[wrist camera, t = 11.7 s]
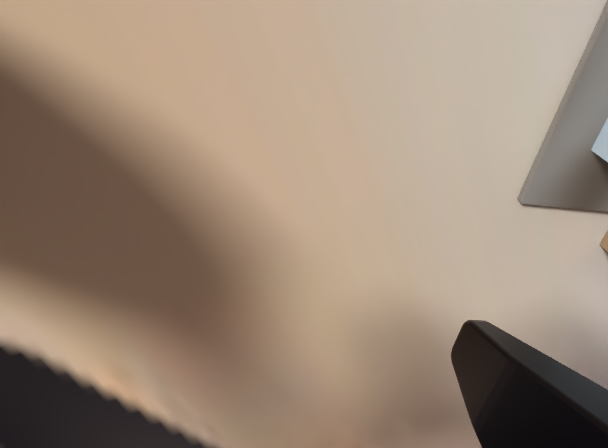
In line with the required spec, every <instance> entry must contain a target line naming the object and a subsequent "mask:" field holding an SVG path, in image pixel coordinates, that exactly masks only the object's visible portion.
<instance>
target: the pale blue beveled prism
mask: <svg viewBox="0 0 608 448" xmlns="http://www.w3.org/2000/svg"><path fill="white" fill-rule="evenodd" d="M591 150H592V151H593V152H594V153H596V154H597V155H598V156H600V157H601V158H602V159H604V160H605V161H607V162H608V118H607V120H606V122H605V124H604V126H603V128H602V130H601V132H600V133H599V135H598V137H597V139H596V141H595V143H594V145H593V147H592V149H591Z"/></svg>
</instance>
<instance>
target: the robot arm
mask: <svg viewBox="0 0 608 448" xmlns="http://www.w3.org/2000/svg"><path fill="white" fill-rule="evenodd" d="M451 359H452V364H453V367H454V370H455V373H456V377H457V380H458V383H459V386H460V389H461V392H462V395H463V398H464V402H465V405H466V408H467V411H468V414H469V417H470V420H471V422H472V425H473V428H474V430H475V432H476V435H477V437H478V439H479V442H480V444H481V446H482V448H608V390H607V389H605V388H603V387H602V386H600V385H598V384H596V383H595V382H593V381H591V380H589V379H588V378H586V377H584V376H582V375H580V374H579V373H577V372H575V371H573V370H572V369H570V368H568V367H566V366H565V365H563V364H561V363H559V362H558V361H556V360H554V359H552V358H551V357H549V356H547V355H545V354H543V353H542V352H540V351H538V350H536V349H535V348H533V347H531V346H529V345H528V344H526V343H524V342H522V341H521V340H519V339H517V338H515V337H514V336H512V335H510V334H508V333H506V332H505V331H503V330H501V329H499V328H498V327H496V326H494V325H492V324H491V323H489V322H486V321H481V320H468V321H466V322H465V323H464V324H463V326H462V328H461V330H460V332H459V335H458V337H457V339H456V341H455V343H454V345H453V348H452V352H451Z"/></svg>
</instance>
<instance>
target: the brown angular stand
mask: <svg viewBox="0 0 608 448" xmlns="http://www.w3.org/2000/svg"><path fill="white" fill-rule="evenodd" d="M607 118H608V1H607V3H606V5H605V8H604V10H603V12H602V14H601V16H600V19H599V21H598V23H597V25H596V27H595V30H594V32H593V34H592V36H591V38H590V41H589V43H588V45H587V47H586V49H585V52H584V54H583V56H582V58H581V60H580V63H579V65H578V67H577V69H576V71H575V74H574V76H573V78H572V80H571V82H570V85H569V87H568V89H567V91H566V93H565V96H564V98H563V100H562V102H561V104H560V107H559V109H558V111H557V113H556V115H555V118H554V120H553V122H552V124H551V126H550V129H549V131H548V133H547V135H546V137H545V140H544V142H543V144H542V146H541V148H540V151H539V153H538V155H537V157H536V159H535V162H534V164H533V166H532V168H531V170H530V173H529V175H528V177H527V179H526V181H525V183H524V186H523V188H522V190H521V192H520V194H519V197H518V200H519V202H520V203H521V204H530V205H541V206H551V207H561V208H572V209H582V210H592V211H602V212H608V162H607V161H605V160H604V159H602V158H601V157H600V156H598V155H597V154H596V153H594V152H593V151H592V150H591V149H592V147H593V145H594V143H595V141H596V139H597V137H598V135H599V133H600V132H601V130H602V128H603V126H604V124H605V122H606V120H607ZM600 245H601V246H602V247H603V248H604V249H605V250H606V251H607V252H608V232H607V233H606V235H605V237H604V238H603V240H602V242H601V244H600Z"/></svg>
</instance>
